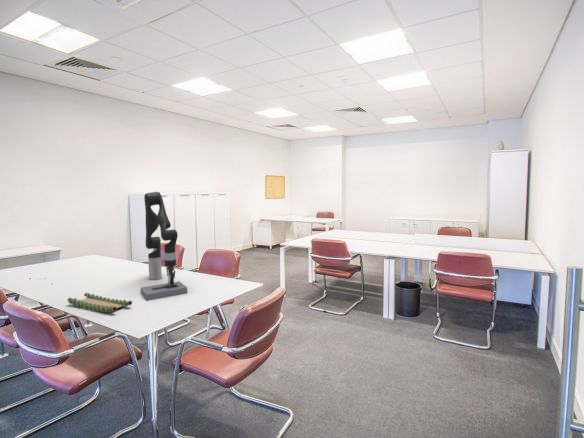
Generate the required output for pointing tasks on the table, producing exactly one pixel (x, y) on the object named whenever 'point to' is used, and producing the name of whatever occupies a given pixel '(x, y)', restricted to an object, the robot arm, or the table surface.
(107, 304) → the stretcher
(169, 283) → the steel peg
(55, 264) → the table surface
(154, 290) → the keyhole plate
